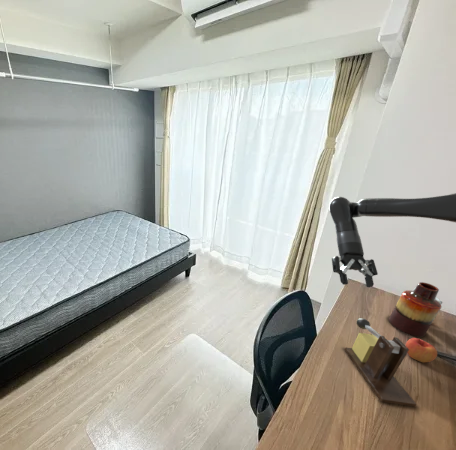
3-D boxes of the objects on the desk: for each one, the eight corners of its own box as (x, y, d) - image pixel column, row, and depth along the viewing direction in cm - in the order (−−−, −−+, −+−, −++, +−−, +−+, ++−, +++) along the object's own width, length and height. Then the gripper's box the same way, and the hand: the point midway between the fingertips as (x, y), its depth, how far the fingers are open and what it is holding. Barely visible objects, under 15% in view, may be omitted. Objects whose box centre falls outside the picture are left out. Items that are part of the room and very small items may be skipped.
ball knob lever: (353, 324, 88) (355, 315, 87) (363, 325, 88) (366, 316, 87) (387, 354, 73) (390, 343, 72) (400, 355, 73) (403, 345, 72)
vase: (427, 342, 93) (454, 299, 85) (389, 328, 98) (411, 287, 91) (421, 326, 101) (445, 285, 93) (386, 314, 106) (406, 274, 99)
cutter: (344, 350, 88) (358, 318, 82) (370, 354, 87) (387, 322, 81) (380, 402, 71) (402, 367, 65) (414, 407, 70) (439, 372, 64)
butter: (366, 350, 86) (374, 334, 83) (377, 364, 81) (386, 347, 78) (351, 348, 87) (359, 332, 84) (361, 362, 82) (370, 345, 79)
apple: (432, 371, 81) (444, 354, 78) (403, 359, 85) (413, 342, 82) (427, 356, 87) (438, 340, 84) (400, 345, 91) (409, 329, 88)
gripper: (336, 239, 93) (343, 281, 87) (376, 242, 92) (386, 286, 86) (324, 245, 100) (331, 285, 94) (361, 248, 99) (370, 289, 92)
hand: (357, 285), depth 90 cm, fingers open, 8 cm apart
